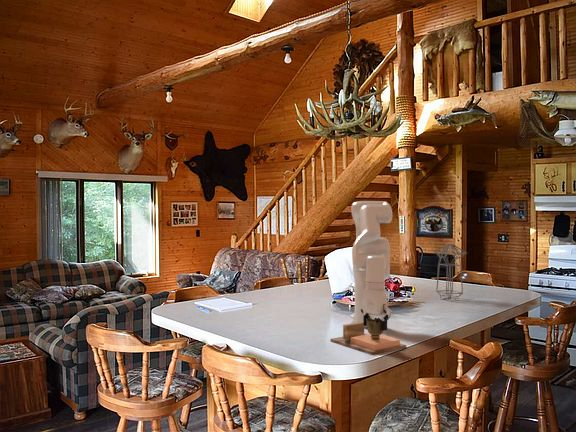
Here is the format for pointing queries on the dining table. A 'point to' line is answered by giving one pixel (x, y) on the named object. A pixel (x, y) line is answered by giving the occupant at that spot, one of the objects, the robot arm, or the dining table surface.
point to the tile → (375, 342)
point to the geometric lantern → (450, 268)
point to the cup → (374, 327)
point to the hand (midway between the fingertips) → (375, 327)
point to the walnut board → (342, 342)
